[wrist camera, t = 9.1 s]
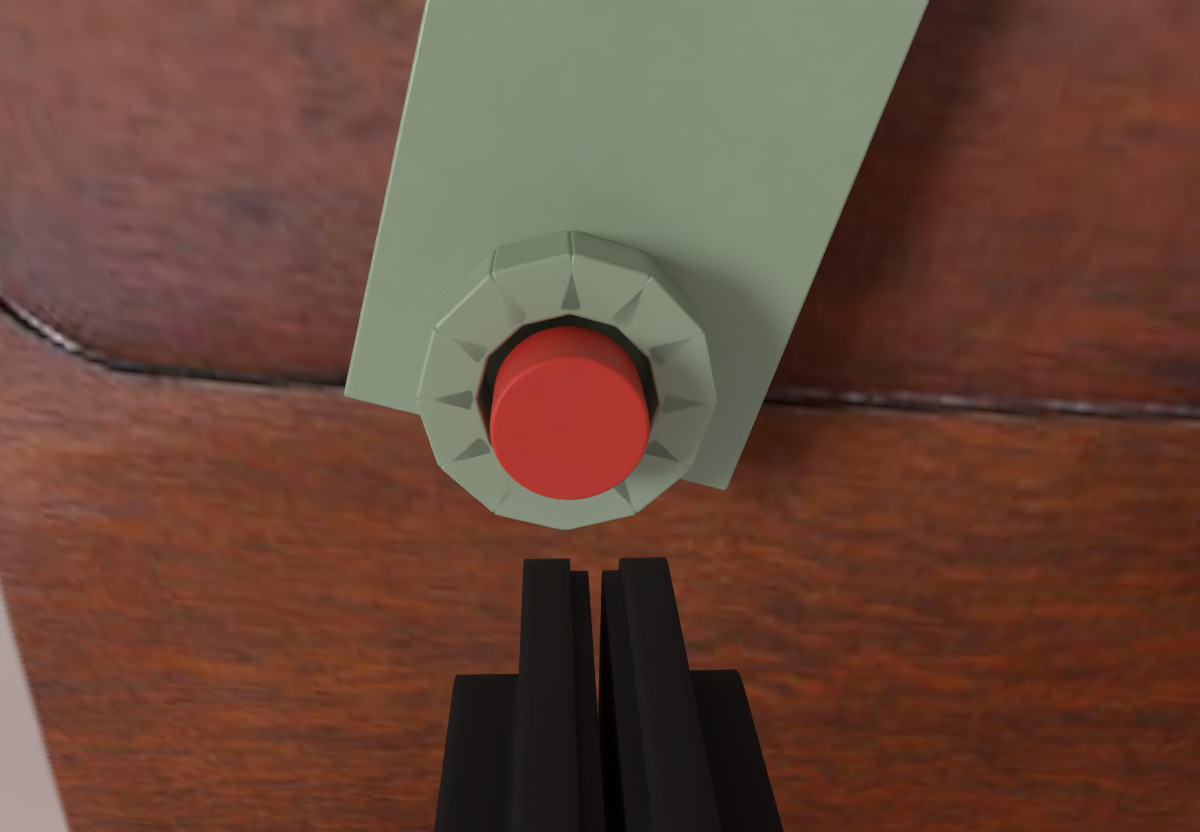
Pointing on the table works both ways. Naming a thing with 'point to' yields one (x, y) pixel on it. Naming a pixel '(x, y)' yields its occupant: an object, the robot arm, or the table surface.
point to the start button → (569, 414)
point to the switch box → (616, 213)
